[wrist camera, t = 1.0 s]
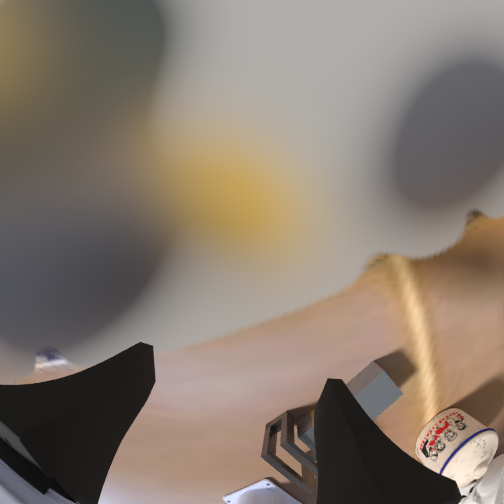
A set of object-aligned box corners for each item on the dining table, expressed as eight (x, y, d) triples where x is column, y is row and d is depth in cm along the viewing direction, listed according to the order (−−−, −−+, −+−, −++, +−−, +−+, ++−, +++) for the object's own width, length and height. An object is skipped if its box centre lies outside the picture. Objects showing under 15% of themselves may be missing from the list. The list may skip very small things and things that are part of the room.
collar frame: (326, 448, 26) (334, 481, 19) (306, 460, 26) (309, 495, 19) (286, 410, 27) (286, 441, 20) (266, 424, 27) (260, 456, 20)
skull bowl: (428, 511, 20) (486, 516, 9) (465, 447, 27) (519, 441, 17) (443, 524, 18) (493, 527, 7) (475, 467, 25) (523, 462, 15)
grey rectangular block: (372, 360, 27) (383, 370, 23) (390, 382, 26) (403, 393, 22) (296, 420, 27) (297, 437, 23) (317, 440, 26) (320, 457, 22)
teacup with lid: (450, 394, 24) (500, 426, 13) (473, 421, 23) (516, 452, 11) (384, 459, 24) (413, 512, 13) (414, 480, 23) (443, 524, 11)
